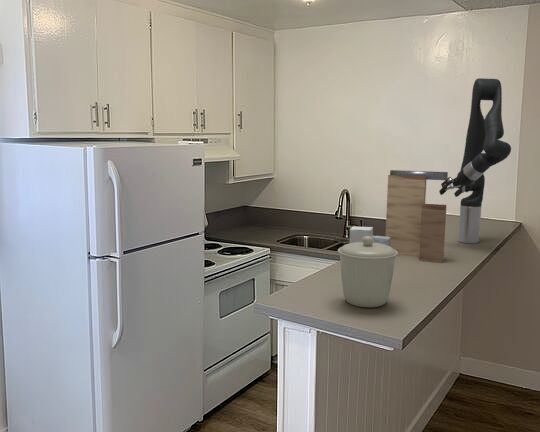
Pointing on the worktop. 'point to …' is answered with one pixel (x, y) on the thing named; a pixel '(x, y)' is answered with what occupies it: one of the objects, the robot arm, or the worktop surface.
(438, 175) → the pin
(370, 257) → the canister
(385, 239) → the medicine box
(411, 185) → the stand
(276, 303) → the worktop surface
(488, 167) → the robot arm
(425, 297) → the worktop surface
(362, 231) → the skincare box
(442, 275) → the worktop surface
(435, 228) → the tall wooden post
